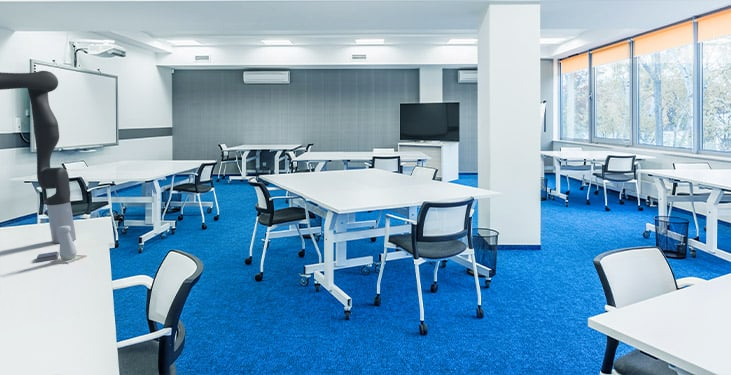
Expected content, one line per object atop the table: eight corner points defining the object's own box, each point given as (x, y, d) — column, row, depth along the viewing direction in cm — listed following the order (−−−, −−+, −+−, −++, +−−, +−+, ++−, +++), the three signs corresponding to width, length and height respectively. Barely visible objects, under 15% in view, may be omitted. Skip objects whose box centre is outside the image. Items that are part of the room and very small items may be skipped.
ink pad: (38, 258, 196) (37, 254, 195) (58, 254, 199) (58, 250, 198) (36, 262, 189) (35, 258, 189) (57, 258, 193) (57, 254, 192)
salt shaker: (80, 256, 193) (75, 224, 191) (71, 260, 187) (66, 227, 185) (66, 256, 194) (61, 224, 192) (56, 261, 188) (51, 228, 186)
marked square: (50, 262, 188) (50, 261, 188) (69, 256, 196) (69, 254, 196) (68, 263, 185) (67, 262, 185) (86, 256, 193) (86, 255, 193)
